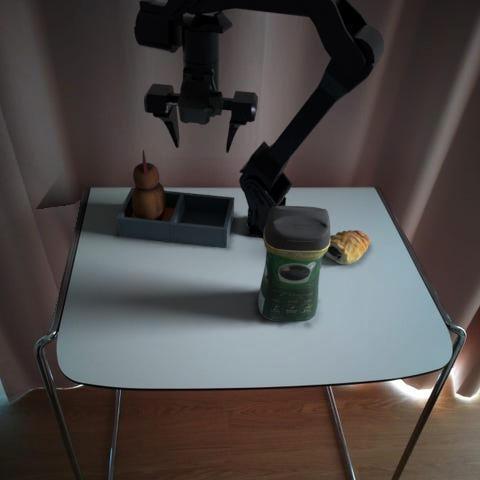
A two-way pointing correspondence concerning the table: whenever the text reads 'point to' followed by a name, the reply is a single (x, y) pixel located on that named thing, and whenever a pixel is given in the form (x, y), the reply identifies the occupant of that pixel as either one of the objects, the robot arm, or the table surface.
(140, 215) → the wooden figurine
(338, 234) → the pastry
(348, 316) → the table surface
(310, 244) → the coffee jar
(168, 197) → the tray
